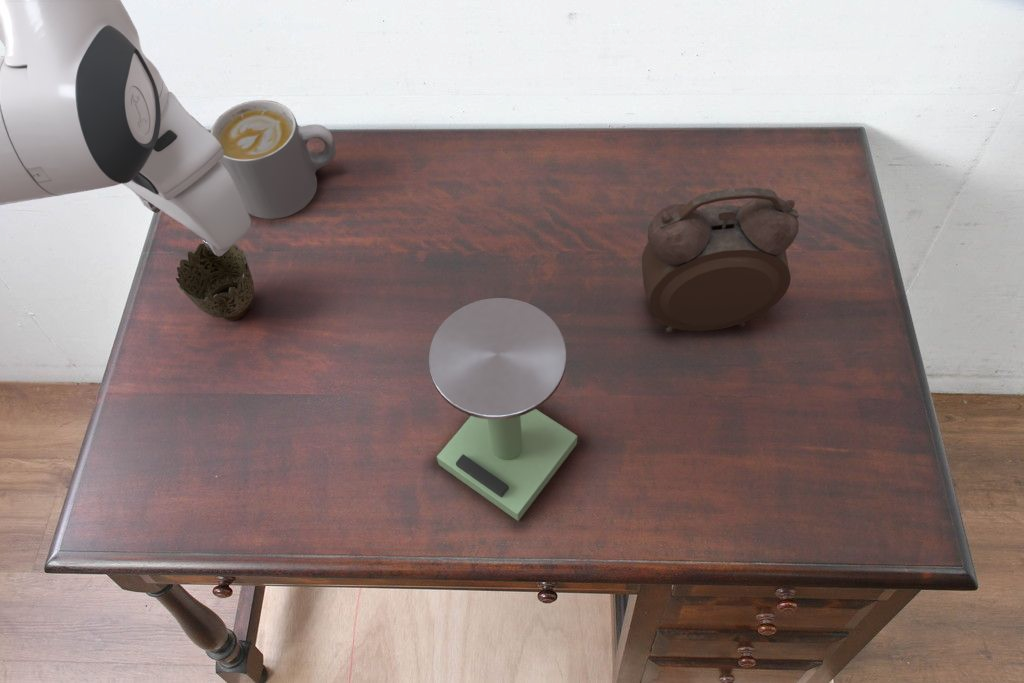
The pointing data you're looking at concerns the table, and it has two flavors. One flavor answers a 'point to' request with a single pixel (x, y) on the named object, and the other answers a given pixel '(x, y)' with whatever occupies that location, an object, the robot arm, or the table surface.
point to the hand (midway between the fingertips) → (188, 227)
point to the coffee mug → (271, 157)
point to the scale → (508, 457)
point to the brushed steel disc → (497, 358)
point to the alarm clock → (718, 259)
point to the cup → (217, 282)
